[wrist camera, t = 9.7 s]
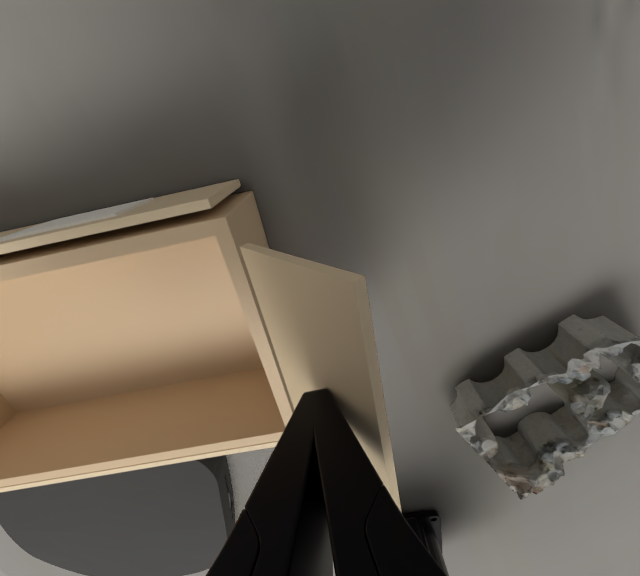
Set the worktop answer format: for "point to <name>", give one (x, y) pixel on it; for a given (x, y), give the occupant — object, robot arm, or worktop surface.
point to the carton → (134, 340)
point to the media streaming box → (127, 520)
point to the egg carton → (571, 386)
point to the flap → (325, 343)
